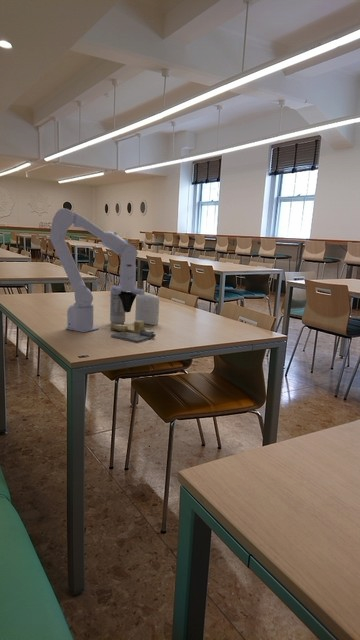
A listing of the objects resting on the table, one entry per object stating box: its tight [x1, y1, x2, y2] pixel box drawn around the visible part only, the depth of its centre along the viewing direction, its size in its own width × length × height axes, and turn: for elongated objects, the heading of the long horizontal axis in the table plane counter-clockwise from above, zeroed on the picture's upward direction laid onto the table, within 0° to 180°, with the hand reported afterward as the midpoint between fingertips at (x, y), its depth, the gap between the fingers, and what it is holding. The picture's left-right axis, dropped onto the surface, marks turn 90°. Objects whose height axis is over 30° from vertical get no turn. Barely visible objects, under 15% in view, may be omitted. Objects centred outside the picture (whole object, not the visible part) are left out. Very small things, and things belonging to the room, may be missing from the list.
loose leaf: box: [109, 320, 152, 334], centre depth 156 cm, size 12×10×4 cm
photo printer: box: [134, 293, 160, 326], centre depth 170 cm, size 10×4×12 cm, turn 60°
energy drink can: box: [109, 288, 126, 325], centre depth 167 cm, size 6×6×15 cm
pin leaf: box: [110, 330, 157, 344], centre depth 146 cm, size 13×10×2 cm
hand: (127, 311), depth 158 cm, fingers closed
